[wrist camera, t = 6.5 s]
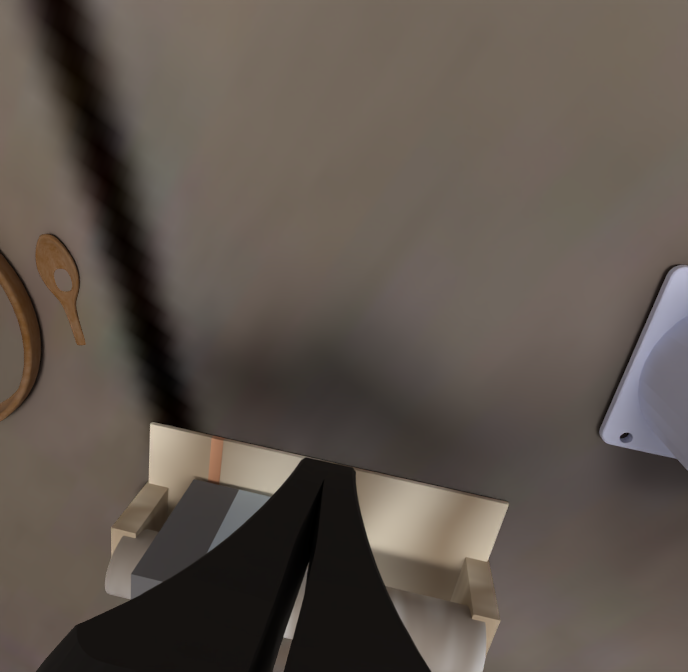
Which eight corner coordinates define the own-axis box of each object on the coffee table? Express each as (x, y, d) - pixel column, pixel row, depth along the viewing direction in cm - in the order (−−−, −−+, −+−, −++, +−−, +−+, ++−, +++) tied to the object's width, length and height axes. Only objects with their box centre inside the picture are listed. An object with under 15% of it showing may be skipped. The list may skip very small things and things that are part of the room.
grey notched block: (239, 489, 25) (181, 603, 18) (229, 575, 27) (174, 703, 21) (194, 479, 25) (120, 589, 18) (187, 565, 27) (121, 689, 21)
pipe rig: (510, 502, 23) (535, 591, 19) (452, 654, 27) (461, 759, 23) (150, 421, 24) (87, 486, 20) (146, 579, 28) (93, 665, 24)
